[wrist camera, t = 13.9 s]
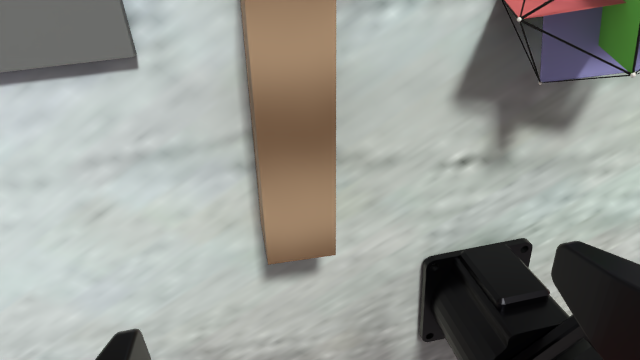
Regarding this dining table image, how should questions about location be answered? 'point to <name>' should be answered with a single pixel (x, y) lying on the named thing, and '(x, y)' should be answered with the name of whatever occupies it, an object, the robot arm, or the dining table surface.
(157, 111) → the dining table surface
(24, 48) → the mat
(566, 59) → the geometric puzzle
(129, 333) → the robot arm
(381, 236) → the dining table surface
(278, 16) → the plain wood plank
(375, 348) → the dining table surface
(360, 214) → the dining table surface
